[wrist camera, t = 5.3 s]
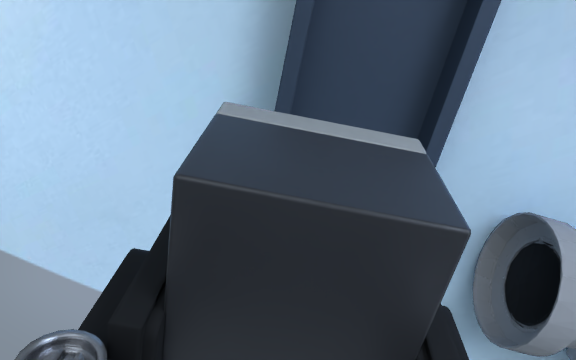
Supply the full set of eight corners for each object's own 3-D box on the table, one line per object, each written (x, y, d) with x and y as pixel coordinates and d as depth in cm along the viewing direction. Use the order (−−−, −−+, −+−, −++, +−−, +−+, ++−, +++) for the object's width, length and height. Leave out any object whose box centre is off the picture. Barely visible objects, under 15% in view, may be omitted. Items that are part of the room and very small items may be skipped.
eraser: (192, 365, 13) (148, 502, 10) (223, 100, 9) (172, 174, 6) (334, 390, 13) (339, 534, 10) (420, 138, 9) (474, 232, 6)
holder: (251, 229, 28) (246, 252, 26) (324, -134, 20) (325, -146, 17) (384, 256, 29) (390, 281, 26) (514, -89, 20) (539, -95, 18)
